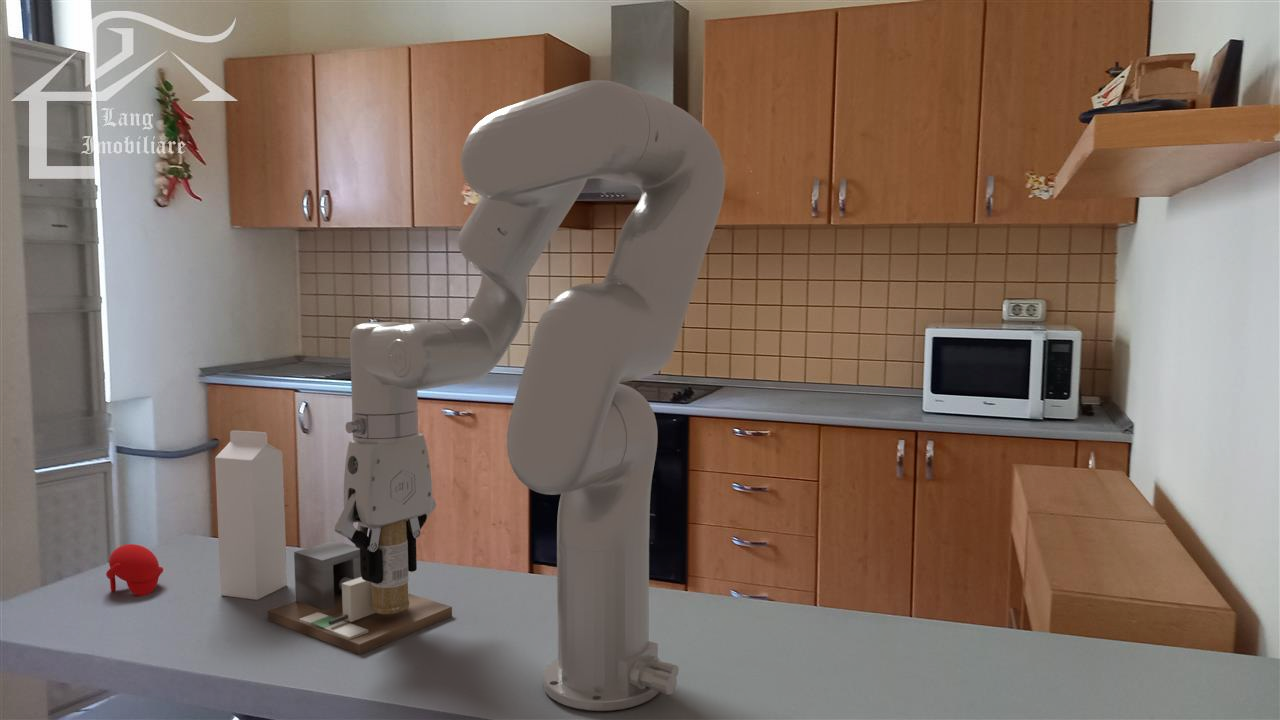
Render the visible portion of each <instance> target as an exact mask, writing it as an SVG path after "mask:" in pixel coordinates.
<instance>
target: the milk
mask: <svg viewBox="0 0 1280 720" xmlns="http://www.w3.org/2000/svg"><path fill="white" fill-rule="evenodd" d="M214 462H215V464H214V466H215V467H214V468H215V469H214V470H215V484H216V485H215V487H216V489H215V490H216V509H217V510H216V512H217V513H216V515H217V531H218V532H217V534H218V535H217V537H218V556H219V557H218V558H219V578H220V579H219V583H220V595H221V596H225V597H232V598H239V599H247V600H254V601H255V600H256V601H258V600H261V599H262V598H264V597H266V596H268V595H270V594H272V593H274V592H276V591H278V590H281V589H282V588H285V587H287V586H288V573H287V571H288V568H287V567H288V566H287V546H286V545H287V544H286V516H285V492H284V491H285V489H284V484H285V483H284V465H283V464H284V461H283V451H281V450H280V449H277V448H276V447H274V446H273V445H271V444H269V443H268V434H267V432H266V431H264V432H262V431H250V430H248V431H246V430H230V432H229V442H228V444H227V445H226V446H225V447H223V449H222V450H221V451H220V452H219V453H218V454H217V455H216V456H215V457H214Z"/></svg>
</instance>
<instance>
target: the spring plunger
mask: <svg viewBox="0 0 1280 720" xmlns="http://www.w3.org/2000/svg"><path fill="white" fill-rule="evenodd" d="M339 588H340V589H341V590H342V606H343V616H340V617H337V618H335V619H332V620H329V624H330V625H332V624H334V623H337V622H340V621H342V620H347V621H350V622H352V621H355V620H358V619H360V618H363V617H366V616H368V615H371V614H374V613H376V612H374V611H372V609H371V605H372V585H371V582H369V581H366V580H363V579H362V577H359V578H356V579H350V578H347V577H344V578H342V579H341V581H340V583H339Z"/></svg>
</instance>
